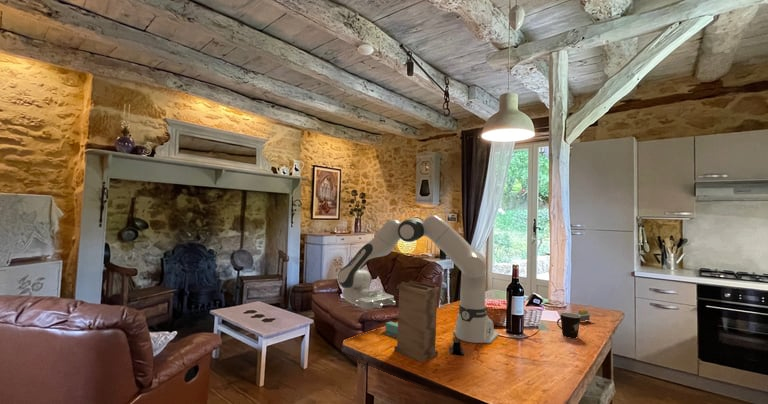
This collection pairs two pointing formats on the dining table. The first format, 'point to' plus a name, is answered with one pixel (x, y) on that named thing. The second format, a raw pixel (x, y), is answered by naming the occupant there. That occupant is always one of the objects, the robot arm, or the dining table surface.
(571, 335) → the coffee mug
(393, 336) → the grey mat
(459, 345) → the black block on plate
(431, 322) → the walnut stand
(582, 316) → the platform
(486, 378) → the dining table surface
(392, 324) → the teal square bar
